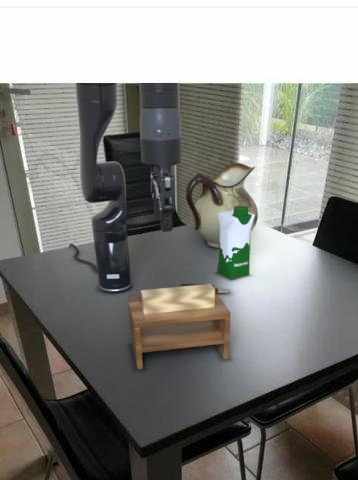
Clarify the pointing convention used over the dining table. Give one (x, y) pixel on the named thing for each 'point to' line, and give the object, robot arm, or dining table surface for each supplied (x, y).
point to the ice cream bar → (212, 285)
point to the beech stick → (178, 298)
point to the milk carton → (235, 242)
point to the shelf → (178, 328)
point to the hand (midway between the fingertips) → (163, 224)
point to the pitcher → (219, 199)
